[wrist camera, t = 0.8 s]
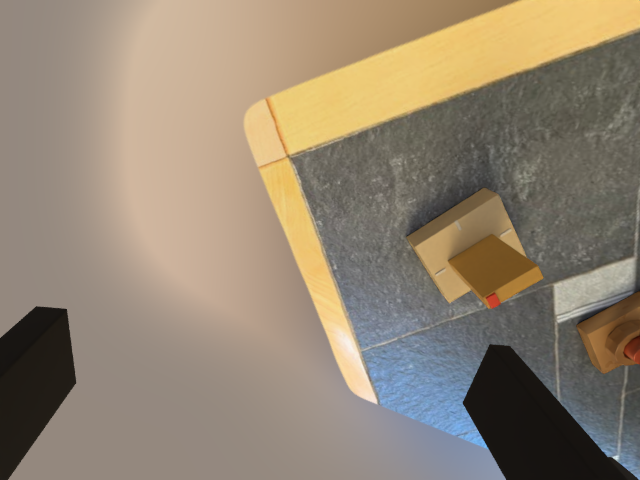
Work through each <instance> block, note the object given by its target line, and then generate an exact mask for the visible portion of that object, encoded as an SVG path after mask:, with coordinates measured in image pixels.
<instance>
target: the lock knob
mask: <svg viewBox="0 0 640 480" xmlns="http://www.w3.org/2000/svg"><path fill="white" fill-rule="evenodd" d="M448 262H449V264H450V266H451V267H452V269H453V271H454V272H455V273H456V274H457V275H458V276H459V277H460V278H461V279H462V281H463V282H464V283H465V284H466V285H467V286H468V287H469V288H470V289H471V290H472V291H473V292H474V293H475V294H476V295H477V297H478V298H479V299H480V300H481V301H482V302H483V303H484V304H485V305H486V306H487V307H488V308H489V309H491V308H492V309H493V308H494V307H496V306H498V305H499V304H501V302H503V301H505V300H506V299H508V298H510V297H512V296H513V295H515V294H517V293H519V292H520V291H522V290H524V289H526V288H527V287H529V286H531V285H533V284H534V283H536V282H538V281H539V280H541V279H543V276H542V273H541V271H540V269H539V267H538V265H537V264H535V263H534V262H532V261H531V260H529V259H528V258H526V257H525V256H524V255H522V254H521V253H519V252H518V251H516V250H515V249H513V248H512V247H511V246H509V245H508V244H506V243H505V242H503V241H502V240H501V239H499V238H498V237H496V236H495V235H493V234H491V235H489V236H488V237H486V238H484V239H483V240H481V241H479V242H478V243H476V244H475V245H473V246H471V247H470V248H468V249H466V250H465V251H463V252H461V253H460V254H458V255H457V256H455V257H453V258H452V259H450V260H448Z"/></svg>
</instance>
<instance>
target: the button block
mask: <svg viewBox="0 0 640 480" xmlns="http://www.w3.org/2000/svg"><path fill="white" fill-rule="evenodd" d="M576 326H577V329H578V331H579V333H580V336H581V338H582V341H583V343H584V345H585V348H586V350H587V353H588V355H589V357H590V360H591V362H592V364H593V365H594V366H595V367H596V368H597V369H598V370H599V371H601V372H602V373H603V374H605V373H607V372H609V371H611V370H613V369H615V368H617V367H619V366H621V365H625V366H627V365H634V364H637V363H636V362H634V361H633V360H632V359H630V358H629V357H628V356H627V355H625V354H624V352H623V351H624V348H625V346H626V345H627V344H628V343H629V342H630V341H631V340H632V339H633V338H635V337H637V336H639V335H640V291H638V292H637V293H635V294H633V295H631V296H629V297H627V298H625V299H624V300H622V301H620V302H618V303H616V304H614V305H613V306H611V307H609V308H607V309H605V310H603V311H602V312H600V313H598V314H596V315H594V316H592V317H590V318H589V319H587V320H585V321H583V322H581V323H579V324H578V325H576Z"/></svg>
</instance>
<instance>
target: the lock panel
mask: <svg viewBox="0 0 640 480" xmlns="http://www.w3.org/2000/svg"><path fill="white" fill-rule="evenodd" d="M491 234H493V235H495V236H496V237H498V238H499V239H501V240H502V241H503V242H505V243H506V244H508V245H509V246H511V247H512V248H513V249H515V250H516V251H518V252H519V253H521V254H522V255H524V256H525V257H526V258H527V256H526V254H525V252H524V250H523V247H522V245H521V243H520V241H519V239H518V236H517V234H516V232H515V230H514V227H513V225H512V223H511V221H510V219H509V216H508V214H507V212H506V210H505V208H504V205H503V203H502V201H501V199H500V197H499V194H497V193H495V192H493V191H491V190H489V189H487V188H483V189H481V190H480V191H478V192H476V193H475V194H473V195H472V196H470V197H469V198H467V199H465V200H464V201H462V202H461V203H459V204H458V205H456V206H454V207H453V208H451V209H450V210H448V211H447V212H445V213H443V214H442V215H440V216H439V217H437V218H436V219H434V220H432V221H431V222H429V223H428V224H426V225H425V226H423V227H421V228H420V229H418V230H417V231H415V232H414V233H412V234H410V235H409V236H407V237H406V238H407V240H408V241H409V243H410V245H411V246H412V248H413V249H414V251H415V253H416V254H417V256H418V257H419V259H420V261H421V262H422V264H423V265H424V267H425V269H426V270H427V272H428V273H429V275H430V276H431V278H432V280H433V281H434V283H435V284H436V286H437V288H438V289H439V291H440V292H441V293H442V295H443V296H444V297H445V299H446V300H447V301H448V302H449V303H450V302H452V301H454V300H455V299H457V298H459V297H460V296H462V295H464V294H466V293H467V292H469V291H471V289H470V288H469V287H468V286H467V285H466V284H465V283H464V282H463V281H462V279H461V278H460V277H459V276H458V275H457V274H456V273H455V272H454V271H453V269H452V267H451V266H450V264H449V262H448V260H450V259H452V258H453V257H455V256H457V255H458V254H460V253H461V252H463V251H465V250H466V249H468V248H470V247H471V246H473V245H475V244H476V243H478V242H479V241H481V240H483V239H484V238H486V237H488V236H489V235H491Z"/></svg>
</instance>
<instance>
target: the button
mask: <svg viewBox="0 0 640 480" xmlns="http://www.w3.org/2000/svg"><path fill="white" fill-rule="evenodd" d="M623 352H624V354H625V355H627V356H628V357H629V358H630V359H632V360H633V361H634V362H636V363H637V364H640V335H639V336H637V337H635V338H633V339H632V340H631V341H630V342H629V343H628V344H627V345H626V346H625V348H624V351H623Z"/></svg>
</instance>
